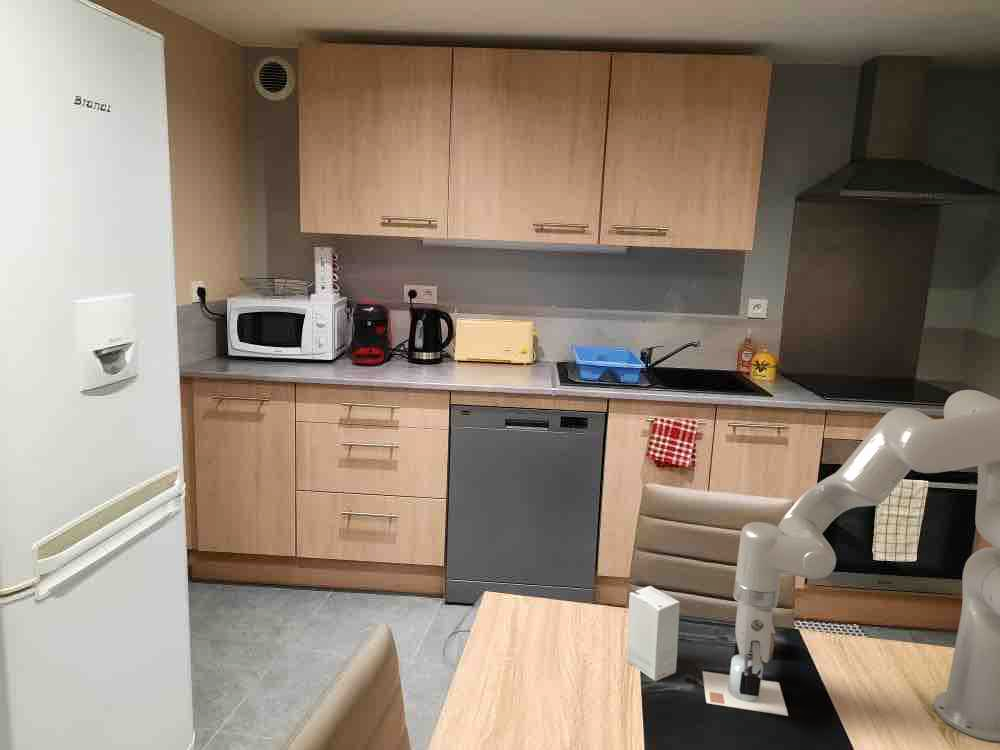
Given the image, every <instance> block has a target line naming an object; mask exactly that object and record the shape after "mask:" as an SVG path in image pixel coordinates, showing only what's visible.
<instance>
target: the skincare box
mask: <svg viewBox="0 0 1000 750" xmlns="http://www.w3.org/2000/svg"><path fill="white" fill-rule="evenodd" d="M680 605H681V602H680V601H679V600H678V599H675V598H673V597H672V596H669V594H666V593H664V592H662V591H661V590H659V589H657V588H655V587H653V586H652V585H649V586H645V587H643V588H640V589H637V590H634V591H631V592H629V600H628V620H627V623H628V624H627V625H628V626H627V641H626V642H627V643H626V644H627V645H626V660H625V661H626V662H627V663H628V664H629V665H631V666H633V667H634V668H636V669H637V670H638V671H640V672H641V673H643V674H644V675H646V676H647V677H649V678H650V679H652V681H654V682H657V681H659V680H661V679H664V678H667V677H669V676H672V675H673V674H676V672H677V665H678V664H677V663H678V661H677V660H678V642H679V623H680V622H679V621H680Z"/></svg>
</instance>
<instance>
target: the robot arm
mask: <svg viewBox="0 0 1000 750" xmlns="http://www.w3.org/2000/svg"><path fill="white" fill-rule="evenodd" d="M943 417H944V418H938V419H933V418H932V417H930V416H929V415H927V414H924V413H922V412H921V411H918V410H915V409H912V408H910V407H909V408H908V407H898V408H897V407H896V408H893V409H891V410H890V411H888V412H887V413H885V415H883V417H881V418H880V420H879V421H878V422H877V423H876V425H874V427H873V428H872V429H871V430H870V432H869V433H868V434H867V435H866V436H865V437H864V439H863V440H862V441H861V442H860V444H858V447H856V449H855V450H854V451H853V452H852V453H851V455H850V456H849V457H848V458H847V459H846V460H845V462H844V463H843V464H842V465H841V466H840V468H839V469H838V470H836V472H834V473H832V475H829V476H827V477H825V478H824V479H822V480H821V481H819V482H818V483H816V484H814V485H812V487H810V488H808V489H807V490H806V491H805V492H804V493H803V494H801V496H799V498H797V500H796V501H795V502H794V503H793V505H792V506H791V507H790V508H789V509H788V510H787V512H786V513H785V514H784V516H783V517H782V519H781V520H780V522H779V524H778V526H776V525H775V524H772V523H767V522H760V521H758V522H757V521H753V522H749V523H746V524H745V525H743V527H742V529H741V531H740V536H739V537H740V538H739V545H738V555H737V562H736V571H735V580H734V587H733V594H732V595H733V598H734V600H735V601H736V602H737V610H736V615H735V627H734V628H735V633H734V634H735V639H736V642H734V643H735V644H734V653H733V657H734V656H735V655H740V657H741V658H742V659H743V660H744V672H742V674H741V682H740V693H741V694H745V695H751V696H758V695H759V688H760V681H761V662H762V663H766V664H767V663H769V661H770V659H769V655H770V643H771V631H772V624H773V609H776V608H777V606H778V602H779V594H780V587H781V580H782V573H786V574H789V575H793V576H795V577H798V578H799V577H800V578H804V579H811V580H817V579H818V580H819V579H823V578H825V577H827V576H829V575H830V574H831V573H832V572H833V571H834V569H835V568H836V563H837V557H836V553H835V551H834V549H833V547H832V546H831V544H830V543H829V542H828V540H827V539H826V538H825V536H824V534H823V533H824V532H825V531H826V530H827V528H828V527H829V526H830V524H832V522H833V521H835V519H836V518H838V517H839V516H840V515H842V514H843V513H845V512H846V511H849V510H851V509H855V508H858V507H859V508H861V507H873V506H879V505H881V504H883V503H884V502H885V501H886V500H887V498H888V496H889V495H890V494H892V492H893V491H894V490H895V489H896V488H897V487H898V485H899V484H900V483H902V480H903V479H904V478H905V477H906V476H907V474H909V472H910V471H911V470H913V471H914V472H916V473H917V472H918V473H922V474H934V473H936V474H937V473H938V474H939V473H943V472H951V471H957V470H963V469H968V468H973V467H977V490H976V504H975V515H974V516H975V519H974V520H975V527H976V528H975V529H977V532H978V534H980V536H981V537H982V538H983V539H984V540H985V541H986V542H988V544H990V545H991V546H992V547H991V546H990V547H983V548H981V549H980V548H979V549H978V550H977V551H975V552H974V553H972V554H971V555H970V556H969V558H967V560H966V561H965V564H964V566H963V567H964V568H963V571H962V580H961V581H962V583H961V584H962V589H961V591H962V601H961V603H962V605H961V610H960V611H961V613H960V618H959V624H958V629H957V635H956V640H955V643H954V644H955V645H954V651H953V654H952V655H953V656H952V659H951V660H952V662H951V667H950V672H949V679H948V683H947V688H946V691H945V692H941V693H939V694H937V695H936V696H935V698H934V702H933V706H934V710H935V712H936V714H937V715H938V716H939V717H940V718H941V720H943V721H944V722H945V723H946V724H948V725H949V726H951V727H953V728H954V729H956V730H957V731H959V732H961V733H964V734H966V735H968V736H971V737H974V738H977V739H980V740H985V741H990V742H1000V399H998V398H997V397H995V396H992V395H990V394H988V393H985V392H984V391H983V392H982V391H979V390H974V389H965V390H959V391H956V392H954V393H953V394H951V395H950V396H949V397H948V398H947V400H946V401H945V404H944V406H943ZM747 655H749V656H747ZM750 656H752V657H750ZM748 661H752V664H751V666H749V667H748Z"/></svg>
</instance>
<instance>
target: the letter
mask: <svg viewBox="0 0 1000 750" xmlns="http://www.w3.org/2000/svg"><path fill="white" fill-rule="evenodd" d="M701 673H702V680H703V687H704V695H705V696H704V697H705V702H706V704H711V705H715V706H716V705H717V706H721V707H722V706H724V707H727V708H735V709H736V708H737V709H741V710H748V711H756V712H759V713H761V712H762V713H768V714H769V713H770V714H774V715H781V716H787V717H788V716H789V714H788V709H787V706H786V703H785V699H784V696H783V695H784V694H783V692H782V689H781V685H780V682H777V681H771V680H766V679H765V680H764V679H762V680H761V687H760V695H759V699H758V700H756V701H753V702H745V701H741V700H738V699H736V698H734V697H733V696H732V695H731V694H730V693H729V691H728V685H729V677H730V674H725V673H717V672H710V671H703V670H702V672H701Z"/></svg>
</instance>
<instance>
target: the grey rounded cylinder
mask: <svg viewBox="0 0 1000 750" xmlns="http://www.w3.org/2000/svg"><path fill="white" fill-rule="evenodd" d="M747 656H749V655H747ZM750 657H752V656H750ZM730 661H731V662H730V671H729V675H730V677H729V685H728V691H729V693H730V694H731V695H732V696H733V697H734V698H736V699H738V700H741V701H745V702H753V701H756V700H758V699H759V695H760V688H759V695H758V696H751V695H745V694H741V693H740V682H741V674H742V672H744V660H743V659H742V658H741V657H740V655H735V656H734V655H733V656H732V657H731V660H730ZM751 664H752V661H748V667H749V666H751ZM763 672H764V664H763V662H762V661H761V680H763ZM760 687H761V681H760Z"/></svg>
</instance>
